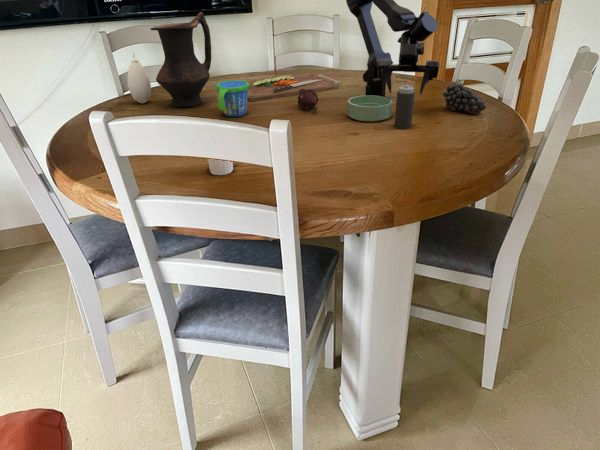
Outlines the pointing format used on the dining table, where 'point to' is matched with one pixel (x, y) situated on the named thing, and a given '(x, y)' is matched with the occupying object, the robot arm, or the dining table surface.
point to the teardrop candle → (138, 81)
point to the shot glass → (220, 167)
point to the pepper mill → (404, 107)
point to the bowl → (369, 108)
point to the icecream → (307, 99)
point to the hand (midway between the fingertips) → (405, 92)
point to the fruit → (463, 99)
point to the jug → (183, 62)
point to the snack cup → (233, 97)
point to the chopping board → (288, 85)
